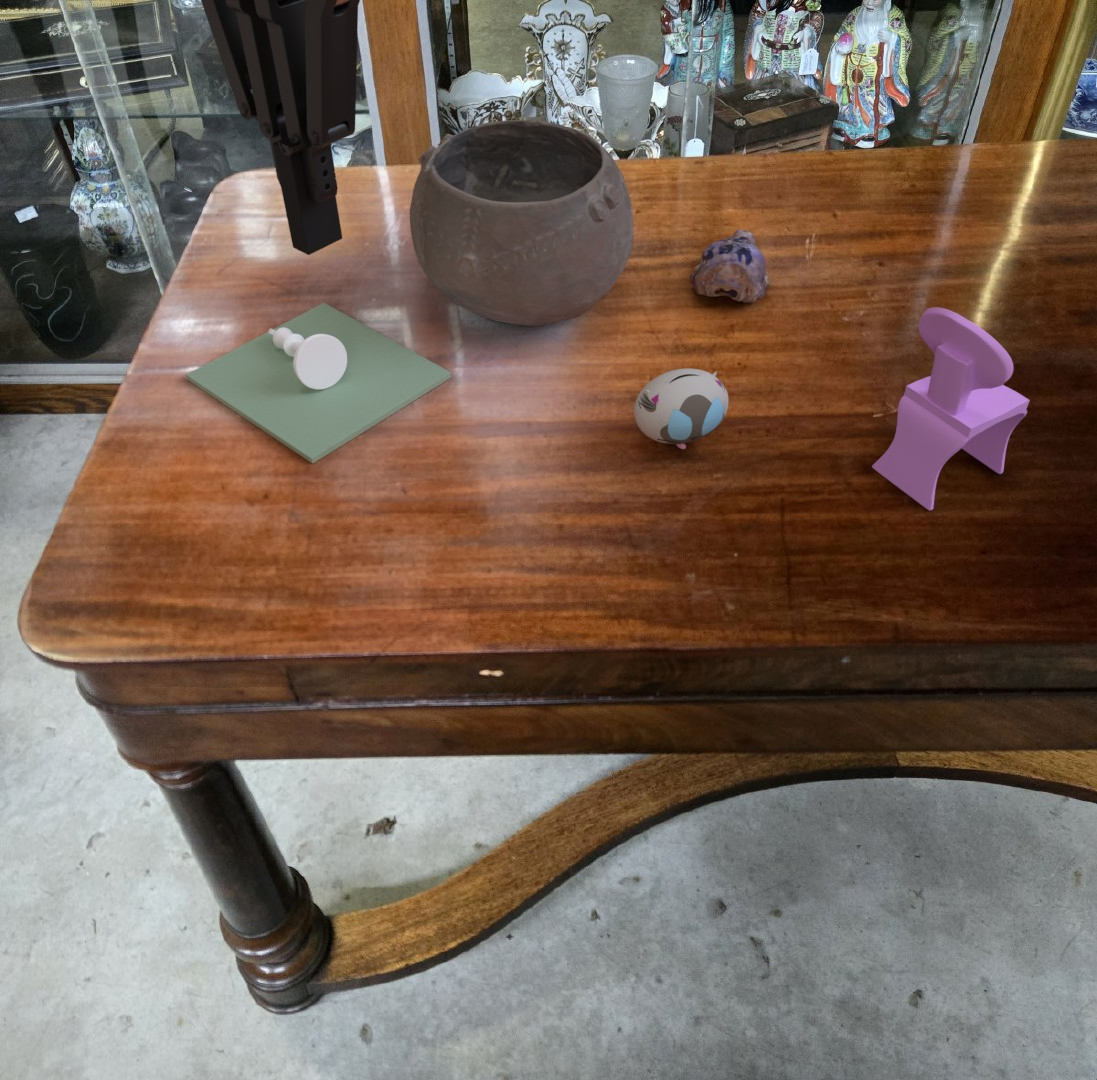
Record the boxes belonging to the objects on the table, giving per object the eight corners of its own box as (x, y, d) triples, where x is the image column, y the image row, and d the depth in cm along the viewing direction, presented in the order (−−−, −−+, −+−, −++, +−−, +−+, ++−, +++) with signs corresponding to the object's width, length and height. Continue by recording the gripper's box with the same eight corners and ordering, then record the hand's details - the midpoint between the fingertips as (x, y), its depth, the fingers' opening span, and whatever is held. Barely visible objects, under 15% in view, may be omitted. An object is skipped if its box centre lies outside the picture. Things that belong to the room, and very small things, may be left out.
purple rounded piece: (717, 242, 110) (730, 190, 105) (785, 266, 108) (802, 215, 103) (675, 303, 102) (687, 250, 98) (748, 330, 101) (764, 277, 96)
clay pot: (664, 332, 98) (675, 181, 88) (453, 379, 94) (438, 225, 83) (583, 232, 113) (584, 91, 102) (396, 268, 108) (377, 124, 97)
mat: (312, 464, 86) (311, 458, 85) (187, 379, 94) (185, 374, 94) (451, 377, 94) (451, 372, 93) (324, 307, 103) (323, 302, 102)
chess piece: (357, 350, 92) (307, 321, 99) (313, 325, 89) (264, 296, 95) (330, 398, 92) (282, 366, 99) (285, 375, 89) (239, 343, 96)
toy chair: (1017, 478, 83) (1082, 315, 72) (939, 518, 80) (996, 355, 69) (938, 423, 88) (988, 265, 78) (862, 460, 85) (903, 299, 74)
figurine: (650, 475, 84) (654, 409, 79) (619, 432, 88) (622, 367, 83) (737, 451, 86) (747, 385, 81) (704, 410, 90) (711, 345, 85)
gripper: (390, -225, 47) (435, 253, 63) (215, -251, 53) (297, 190, 69) (255, -200, 43) (341, 304, 59) (83, -232, 49) (204, 232, 65)
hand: (317, 242), depth 64 cm, fingers closed
